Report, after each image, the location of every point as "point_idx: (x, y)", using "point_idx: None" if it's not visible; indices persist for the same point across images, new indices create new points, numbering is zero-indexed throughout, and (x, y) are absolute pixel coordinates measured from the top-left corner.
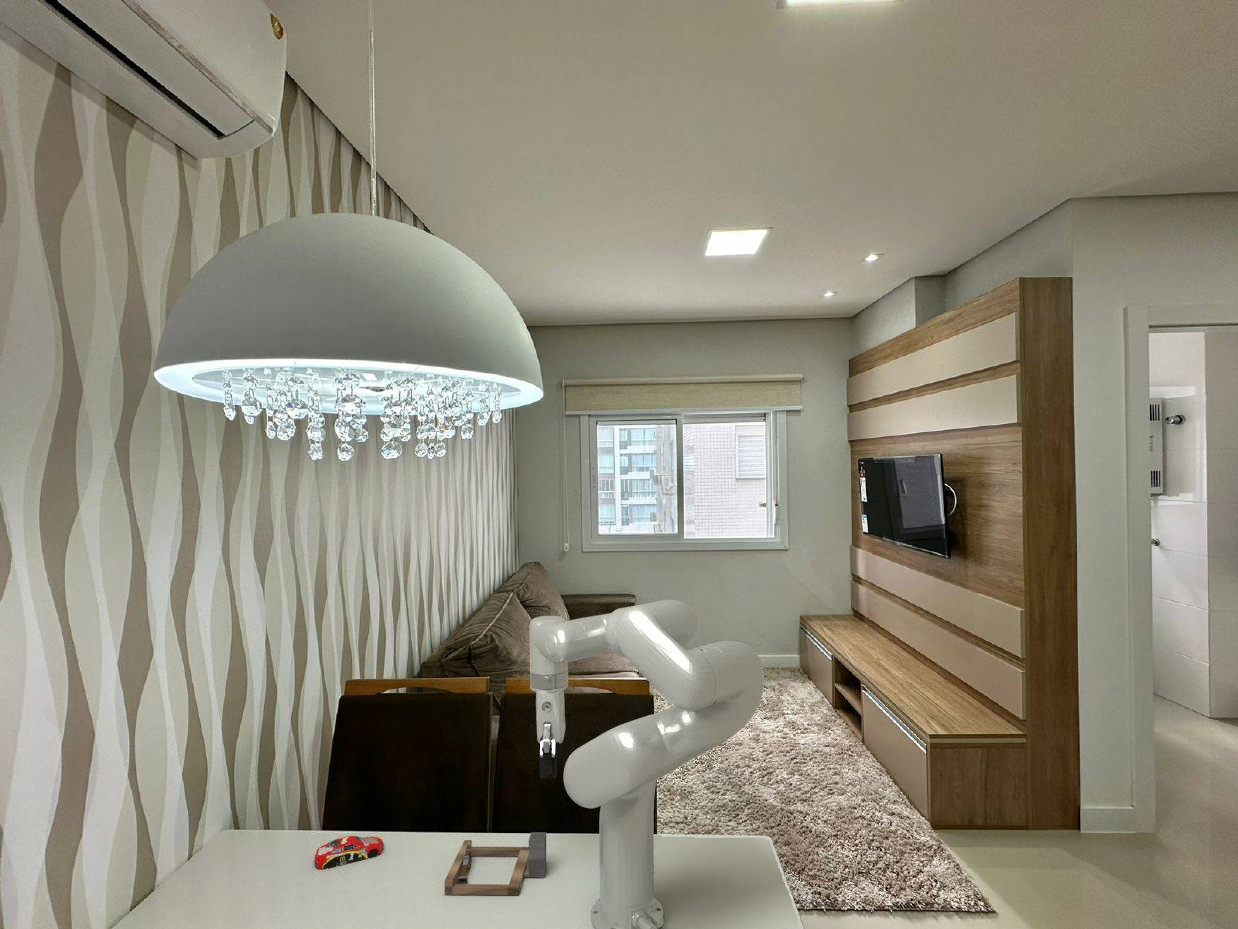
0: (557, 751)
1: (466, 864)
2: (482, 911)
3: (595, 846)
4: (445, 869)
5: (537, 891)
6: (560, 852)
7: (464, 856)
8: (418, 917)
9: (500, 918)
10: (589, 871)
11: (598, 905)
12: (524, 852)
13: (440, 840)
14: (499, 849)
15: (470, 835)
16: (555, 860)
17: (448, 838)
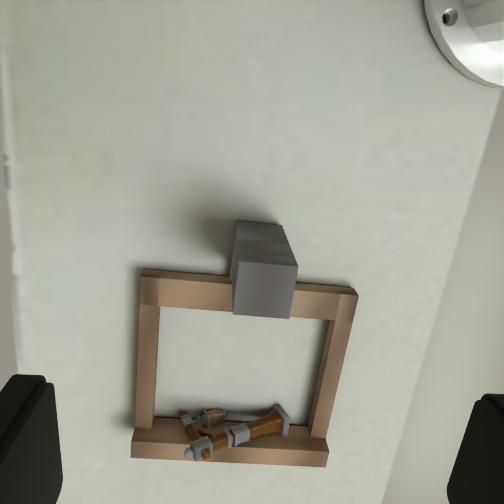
0: (26, 445)
1: (249, 432)
2: (394, 359)
3: (96, 47)
4: None
5: (339, 240)
6: (136, 177)
7: (228, 447)
8: (384, 469)
9: (431, 319)
10: (258, 80)
11: (490, 63)
12: (172, 292)
13: (69, 489)
14: (152, 360)
15: None
16: (183, 193)
17: None
